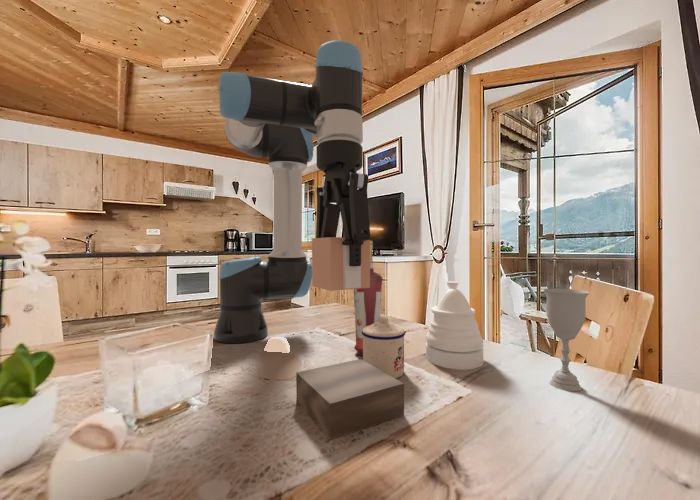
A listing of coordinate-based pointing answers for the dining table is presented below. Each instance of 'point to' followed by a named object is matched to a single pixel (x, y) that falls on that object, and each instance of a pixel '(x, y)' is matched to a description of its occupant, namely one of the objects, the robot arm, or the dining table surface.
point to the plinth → (349, 396)
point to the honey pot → (454, 333)
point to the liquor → (367, 304)
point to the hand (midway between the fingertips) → (340, 285)
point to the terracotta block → (335, 263)
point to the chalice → (566, 329)
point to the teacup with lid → (384, 347)
